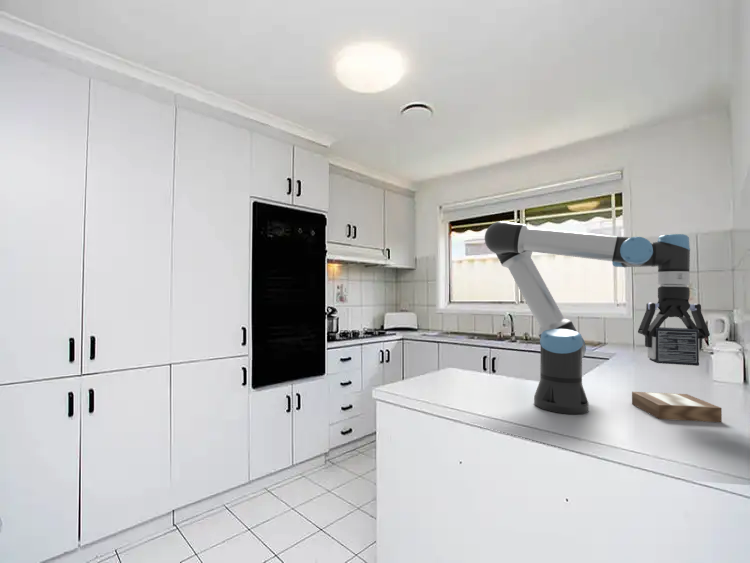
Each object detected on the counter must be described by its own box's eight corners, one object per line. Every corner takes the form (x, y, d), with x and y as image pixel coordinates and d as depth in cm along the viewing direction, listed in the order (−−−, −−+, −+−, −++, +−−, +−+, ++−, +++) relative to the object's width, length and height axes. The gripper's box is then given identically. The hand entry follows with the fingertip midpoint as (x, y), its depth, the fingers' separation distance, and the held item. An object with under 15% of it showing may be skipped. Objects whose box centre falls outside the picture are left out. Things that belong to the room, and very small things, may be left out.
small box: (689, 362, 115) (689, 327, 115) (700, 366, 109) (700, 329, 109) (648, 359, 118) (648, 325, 118) (656, 363, 112) (656, 327, 112)
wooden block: (658, 418, 107) (658, 404, 107) (632, 404, 121) (632, 391, 121) (721, 422, 105) (721, 407, 105) (687, 406, 119) (686, 393, 119)
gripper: (638, 285, 112) (637, 359, 111) (726, 286, 109) (726, 363, 108) (624, 285, 119) (624, 355, 119) (707, 286, 116) (706, 358, 116)
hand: (672, 359), depth 114 cm, fingers closed on small box, 11 cm apart
